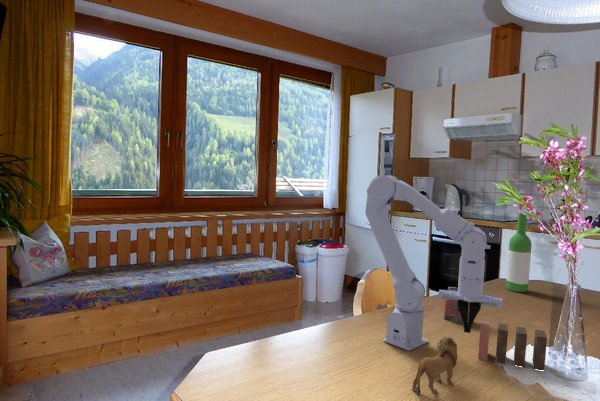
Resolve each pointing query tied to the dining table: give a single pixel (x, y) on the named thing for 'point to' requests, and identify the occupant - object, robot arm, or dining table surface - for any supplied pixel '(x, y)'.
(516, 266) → the wine bottle
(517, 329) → the walnut domino
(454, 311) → the lighter
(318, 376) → the dining table surface
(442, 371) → the lion figurine
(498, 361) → the walnut domino
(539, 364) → the walnut domino
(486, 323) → the brick red domino
